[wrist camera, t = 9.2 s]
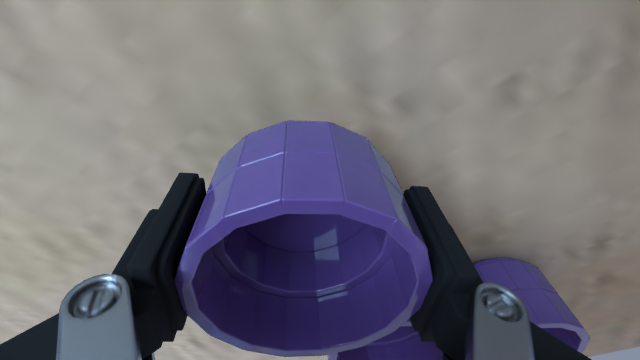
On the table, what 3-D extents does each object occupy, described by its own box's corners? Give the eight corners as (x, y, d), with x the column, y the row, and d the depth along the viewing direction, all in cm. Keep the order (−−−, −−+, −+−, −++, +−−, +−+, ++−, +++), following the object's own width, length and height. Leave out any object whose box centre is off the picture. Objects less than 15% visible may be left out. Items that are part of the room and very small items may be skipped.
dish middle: (306, 301, 21) (307, 374, 17) (357, 236, 17) (372, 309, 14) (389, 321, 23) (406, 389, 19) (450, 265, 20) (485, 336, 16)
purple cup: (413, 303, 22) (436, 373, 18) (483, 241, 18) (528, 312, 15) (485, 322, 24) (518, 388, 20) (559, 269, 20) (616, 337, 17)
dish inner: (195, 228, 13) (153, 335, 9) (248, 79, 9) (217, 153, 6) (339, 269, 15) (352, 369, 11) (427, 158, 12) (486, 251, 8)
